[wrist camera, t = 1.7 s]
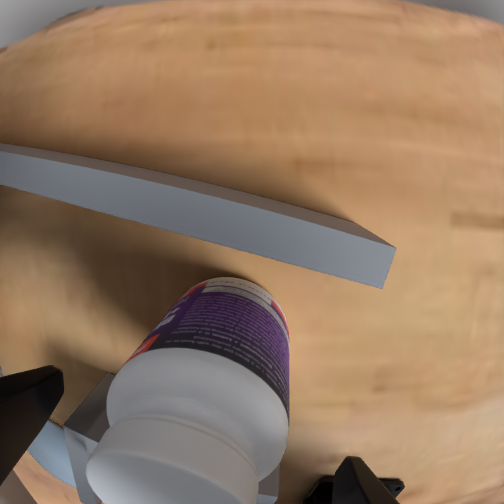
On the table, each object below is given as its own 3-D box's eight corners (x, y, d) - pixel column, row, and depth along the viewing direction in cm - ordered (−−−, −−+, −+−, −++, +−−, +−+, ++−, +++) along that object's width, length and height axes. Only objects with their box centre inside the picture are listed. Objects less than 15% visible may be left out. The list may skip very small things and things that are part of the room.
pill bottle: (181, 261, 14) (38, 385, 5) (302, 289, 14) (324, 469, 4) (169, 362, 15) (78, 512, 6) (273, 388, 15) (256, 565, 6)
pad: (103, 447, 18) (101, 450, 17) (109, 502, 20) (108, 504, 20) (10, 395, 18) (7, 397, 18) (29, 458, 20) (27, 460, 20)
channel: (357, 223, 13) (396, 248, 8) (246, 497, 18) (237, 553, 13) (-12, 141, 14) (-72, 140, 9) (-3, 390, 18) (-38, 420, 13)
